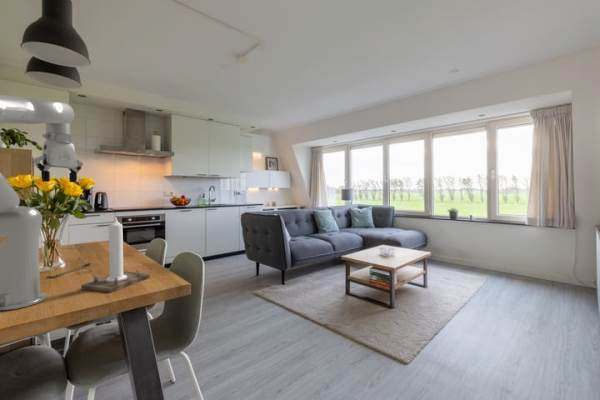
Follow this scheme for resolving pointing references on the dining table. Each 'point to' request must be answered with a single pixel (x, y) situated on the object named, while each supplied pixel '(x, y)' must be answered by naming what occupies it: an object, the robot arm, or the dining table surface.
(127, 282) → the peg stand
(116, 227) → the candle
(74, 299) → the dining table surface
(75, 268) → the tactical tomahawk
